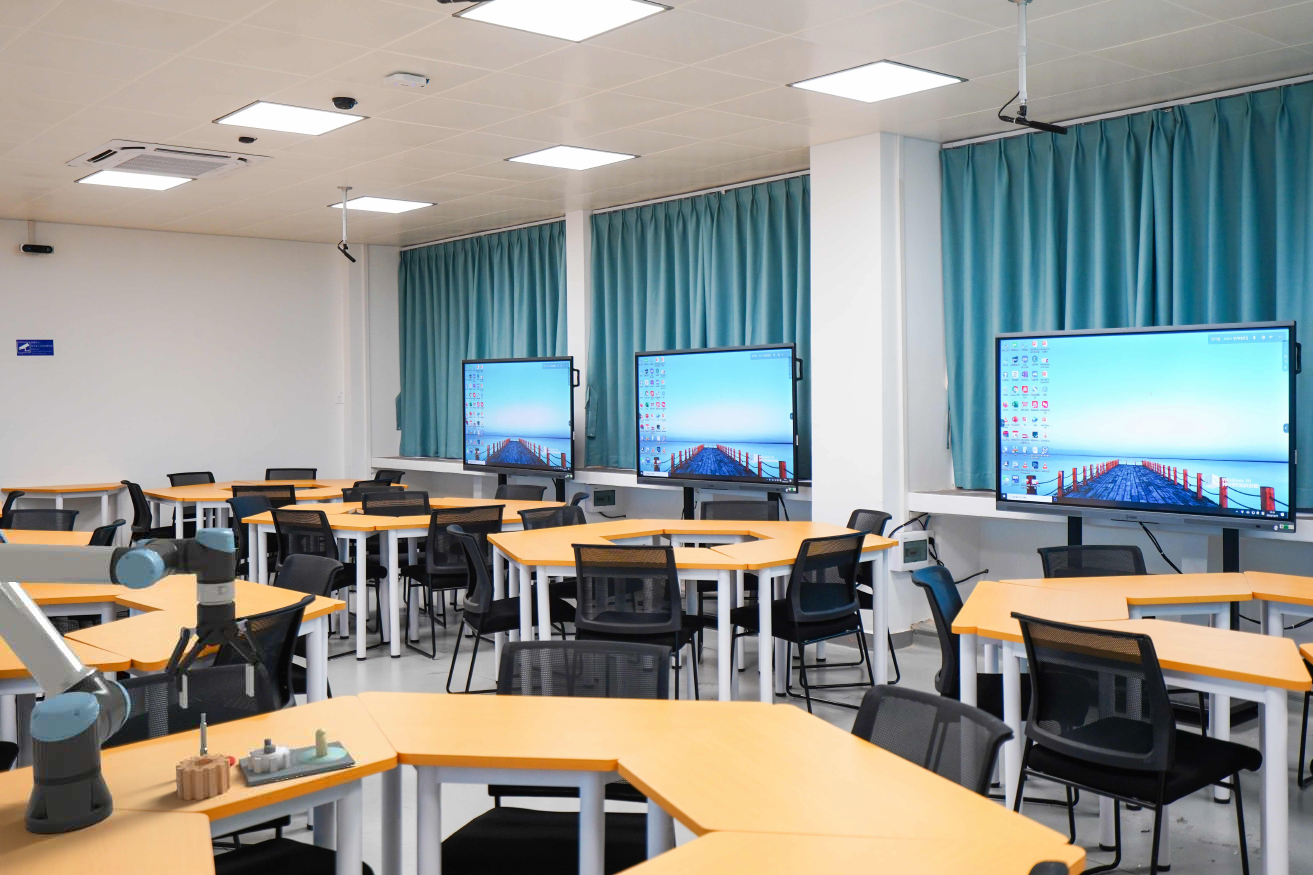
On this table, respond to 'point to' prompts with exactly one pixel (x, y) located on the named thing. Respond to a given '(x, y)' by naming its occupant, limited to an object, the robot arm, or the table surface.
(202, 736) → the tow hook
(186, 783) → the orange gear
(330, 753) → the gear board
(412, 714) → the table surface
